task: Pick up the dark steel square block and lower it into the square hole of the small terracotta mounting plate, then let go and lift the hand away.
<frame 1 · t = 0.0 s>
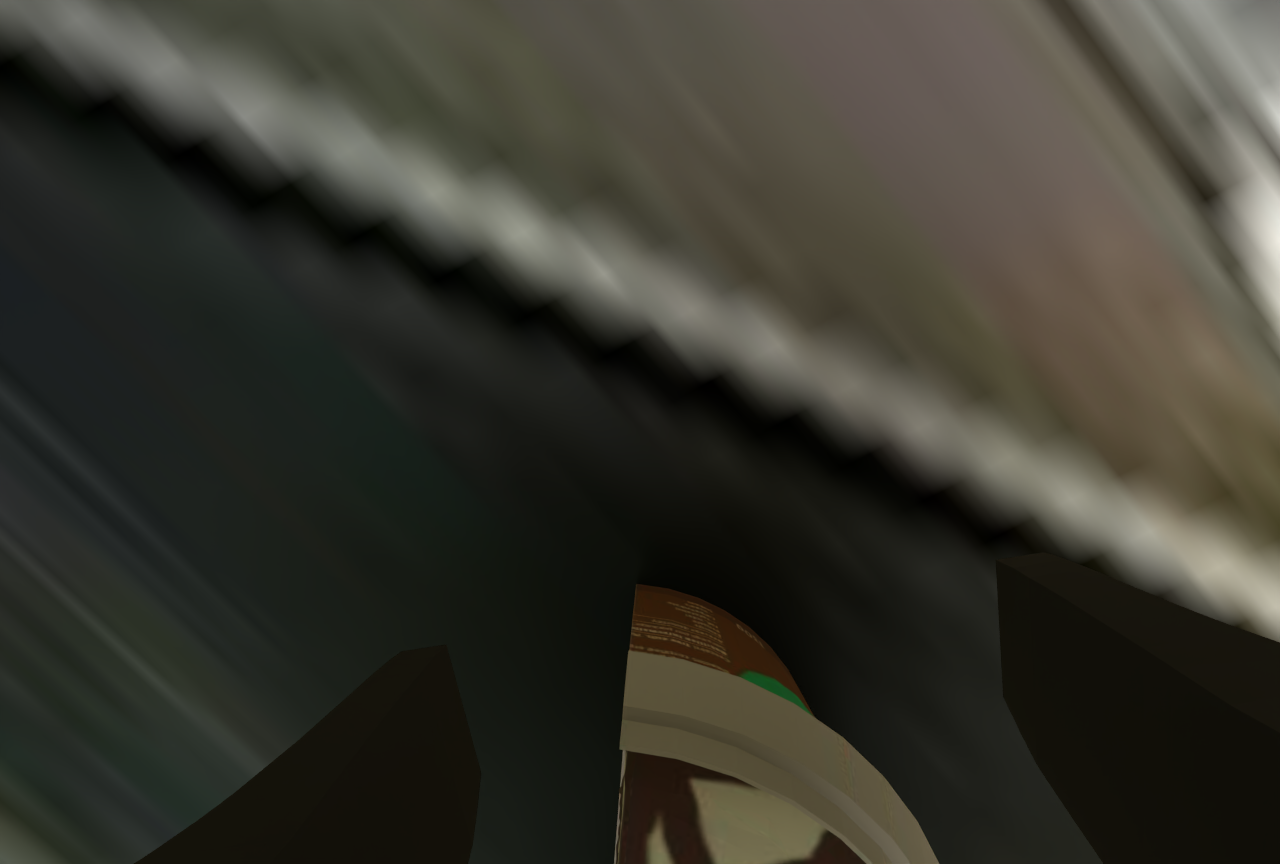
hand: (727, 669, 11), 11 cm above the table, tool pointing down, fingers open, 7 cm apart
food container: (739, 762, 23), on the table
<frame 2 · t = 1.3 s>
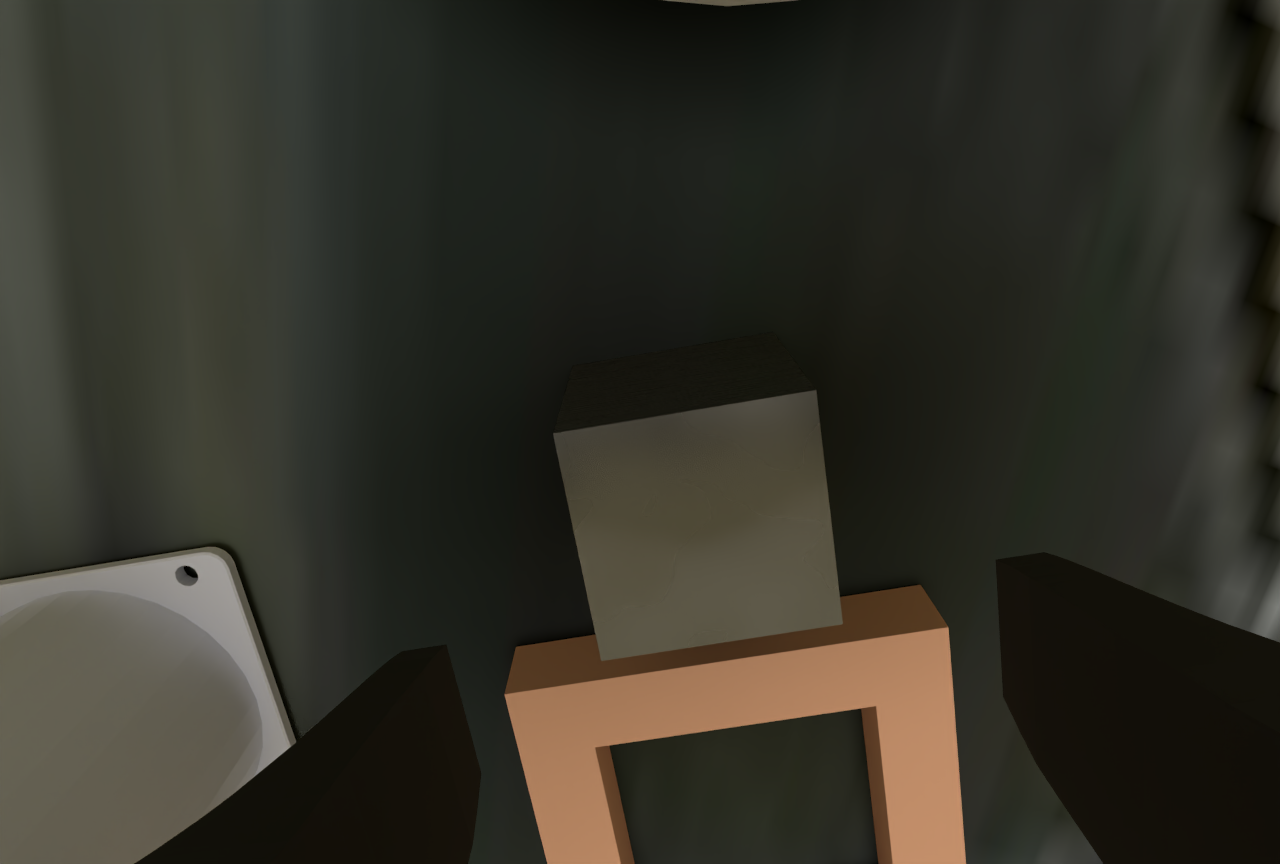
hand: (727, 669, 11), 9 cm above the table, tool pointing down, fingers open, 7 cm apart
steel block: (687, 442, 20), on the table
hole plate: (743, 783, 23), on the table
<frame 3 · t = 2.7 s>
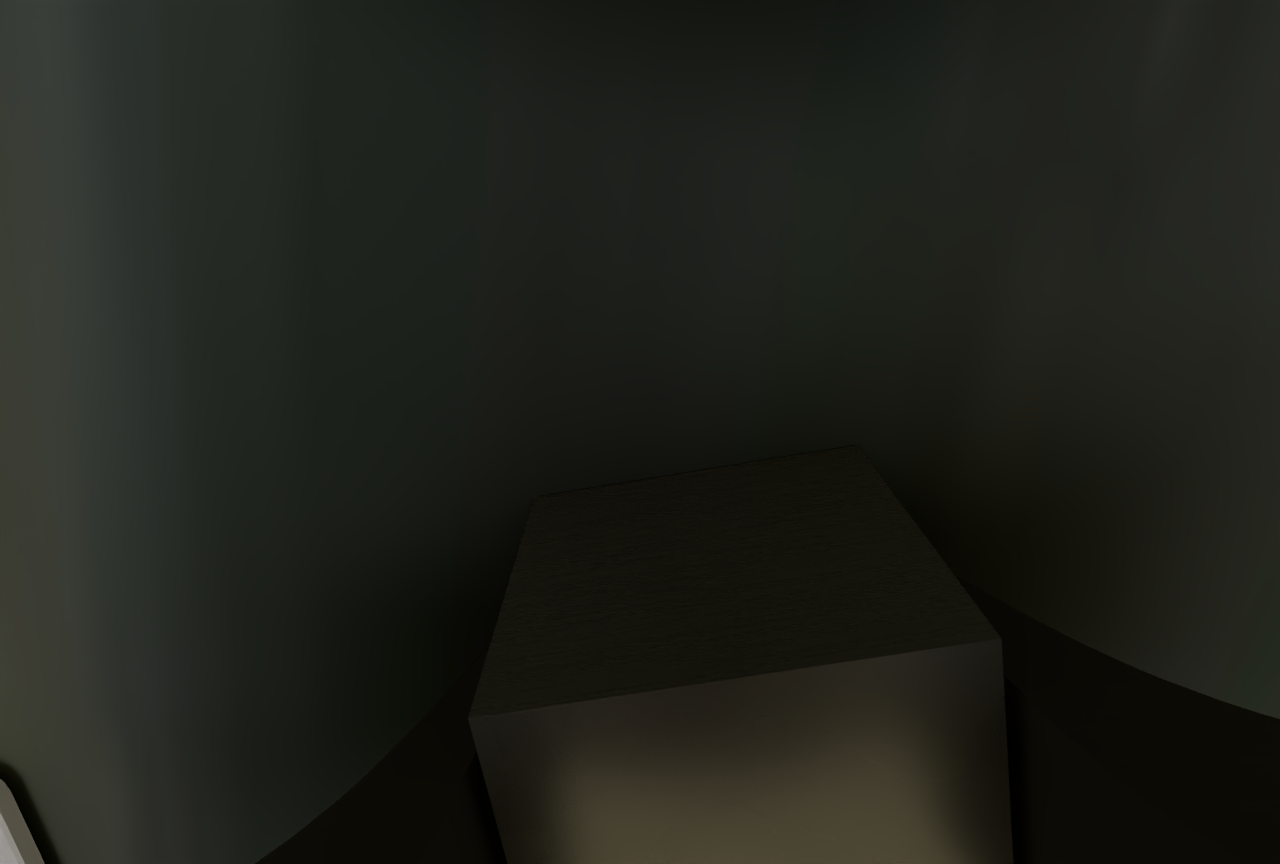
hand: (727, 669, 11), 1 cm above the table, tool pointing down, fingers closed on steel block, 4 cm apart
steel block: (717, 614, 13), on the table, touching gripper
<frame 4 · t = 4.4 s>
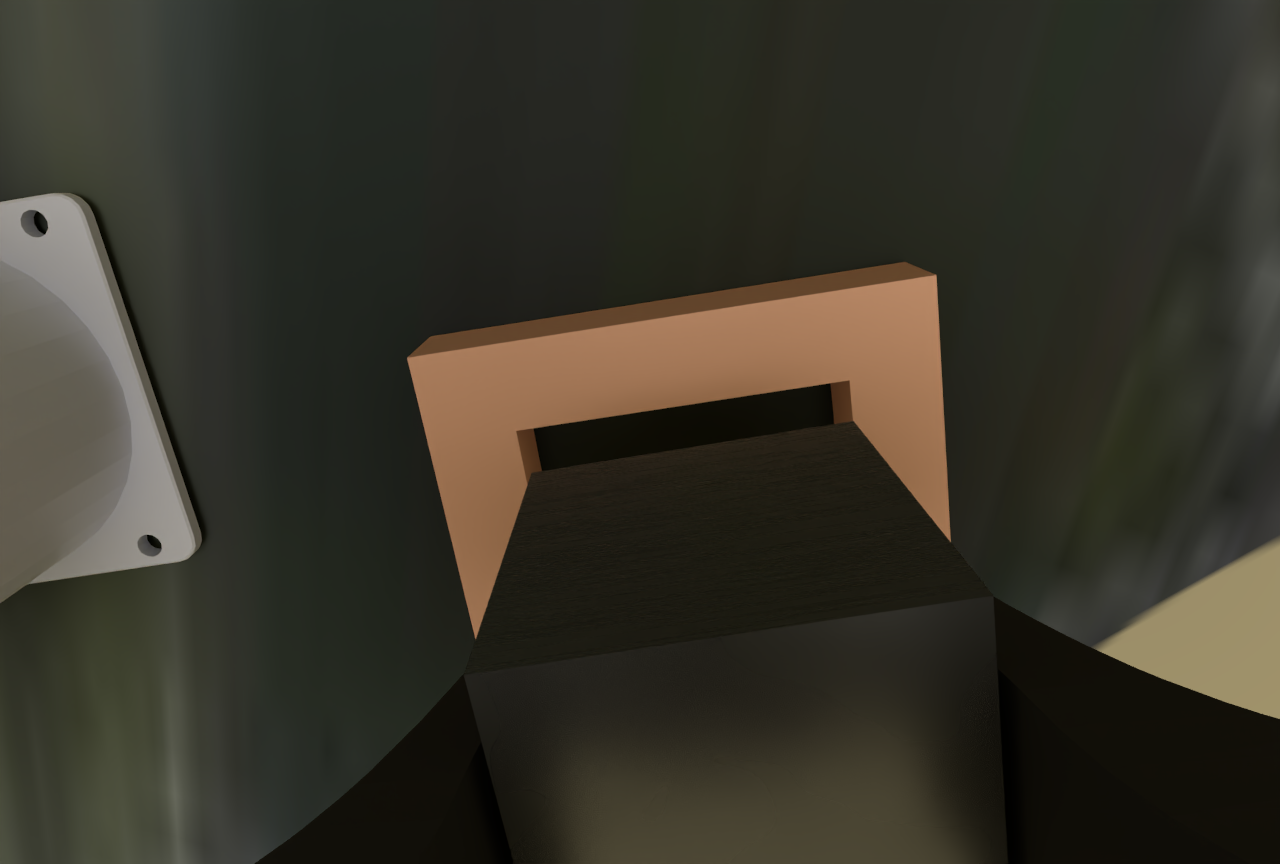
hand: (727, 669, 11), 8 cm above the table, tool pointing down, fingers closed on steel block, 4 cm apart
steel block: (714, 591, 13), point 7 cm above the table, touching gripper
hole plate: (697, 518, 20), on the table
when the fingers open (3 cm above the table, at t = 6.1 s): steel block drops 1 cm, resting in hole plate.
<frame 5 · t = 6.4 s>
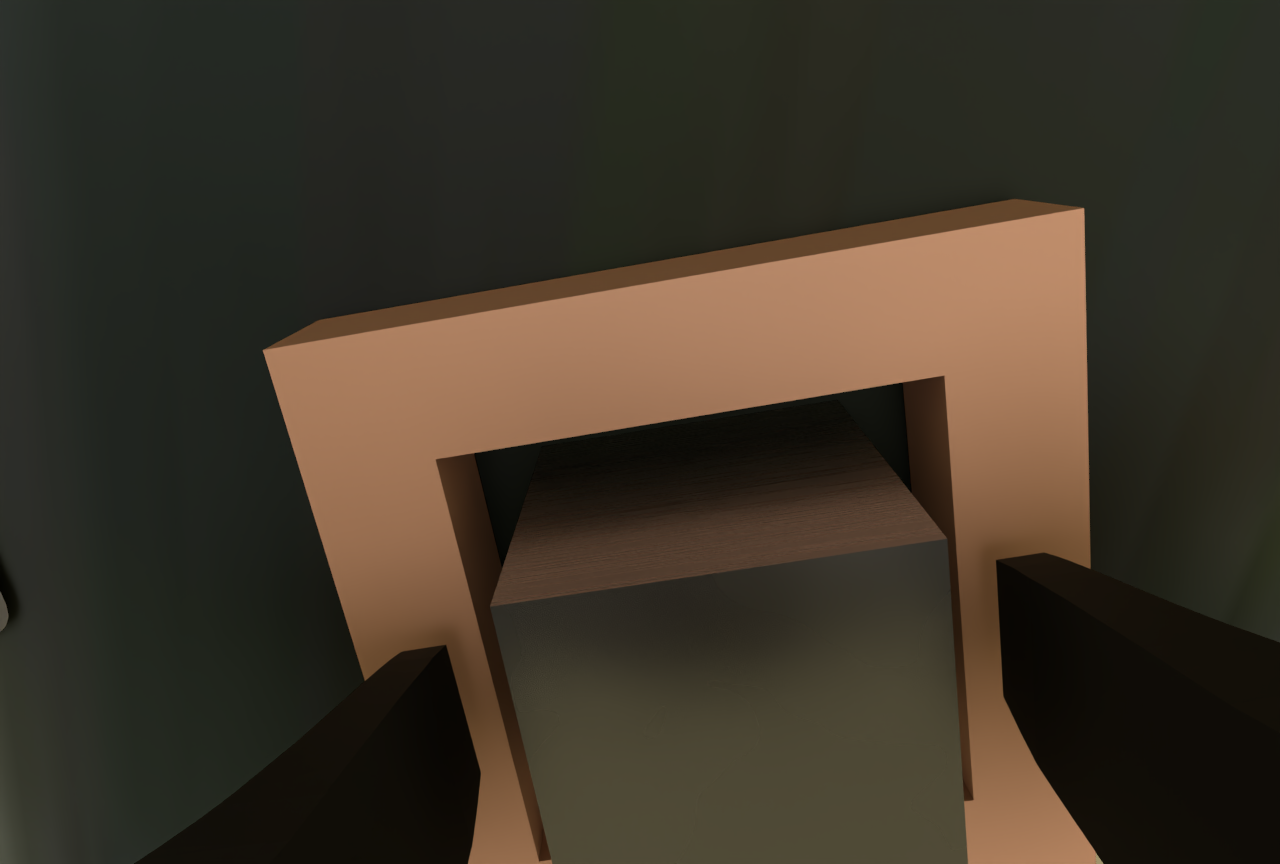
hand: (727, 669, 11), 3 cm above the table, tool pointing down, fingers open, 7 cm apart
steel block: (708, 555, 14), resting in hole plate
hole plate: (711, 574, 14), on the table
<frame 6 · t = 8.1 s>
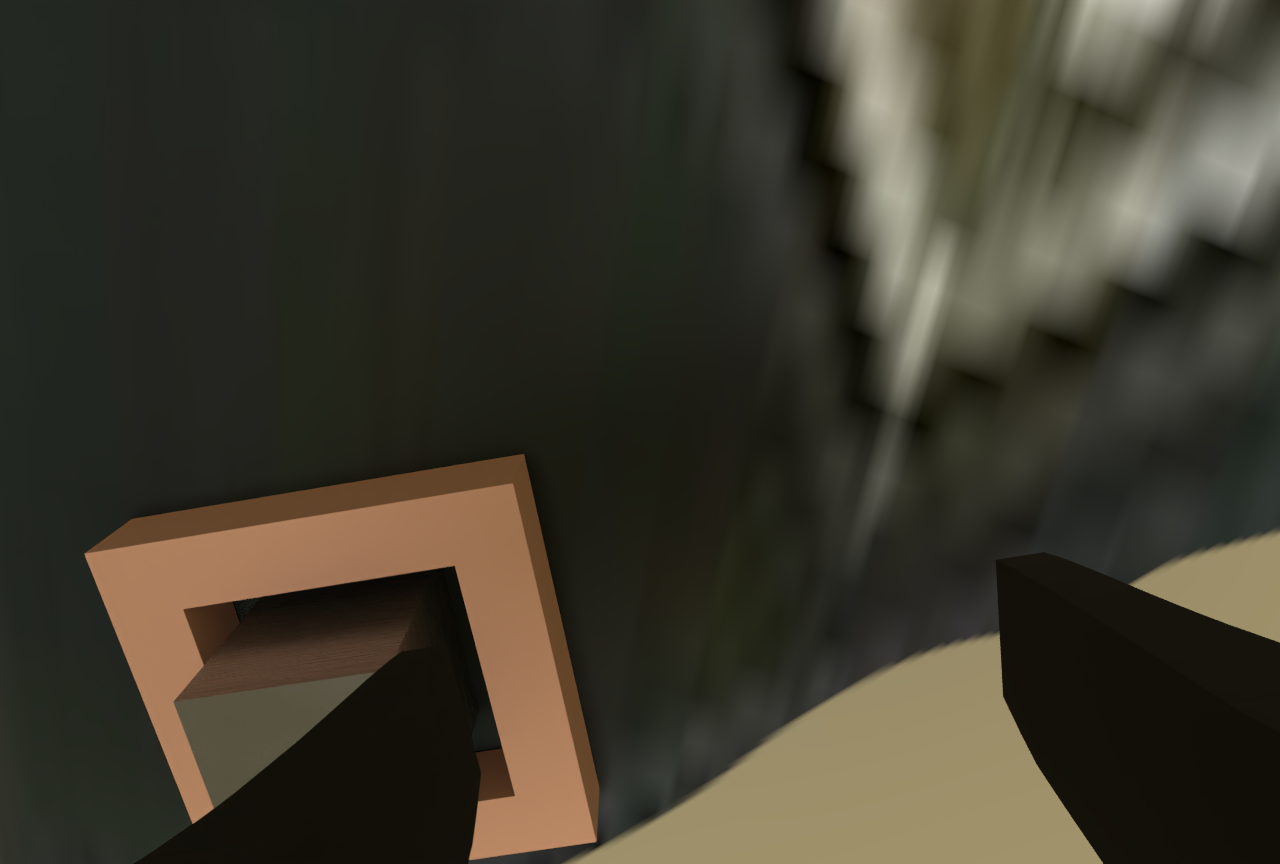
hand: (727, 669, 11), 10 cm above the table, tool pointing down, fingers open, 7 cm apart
steel block: (377, 649, 23), resting in hole plate
hole plate: (378, 660, 23), on the table
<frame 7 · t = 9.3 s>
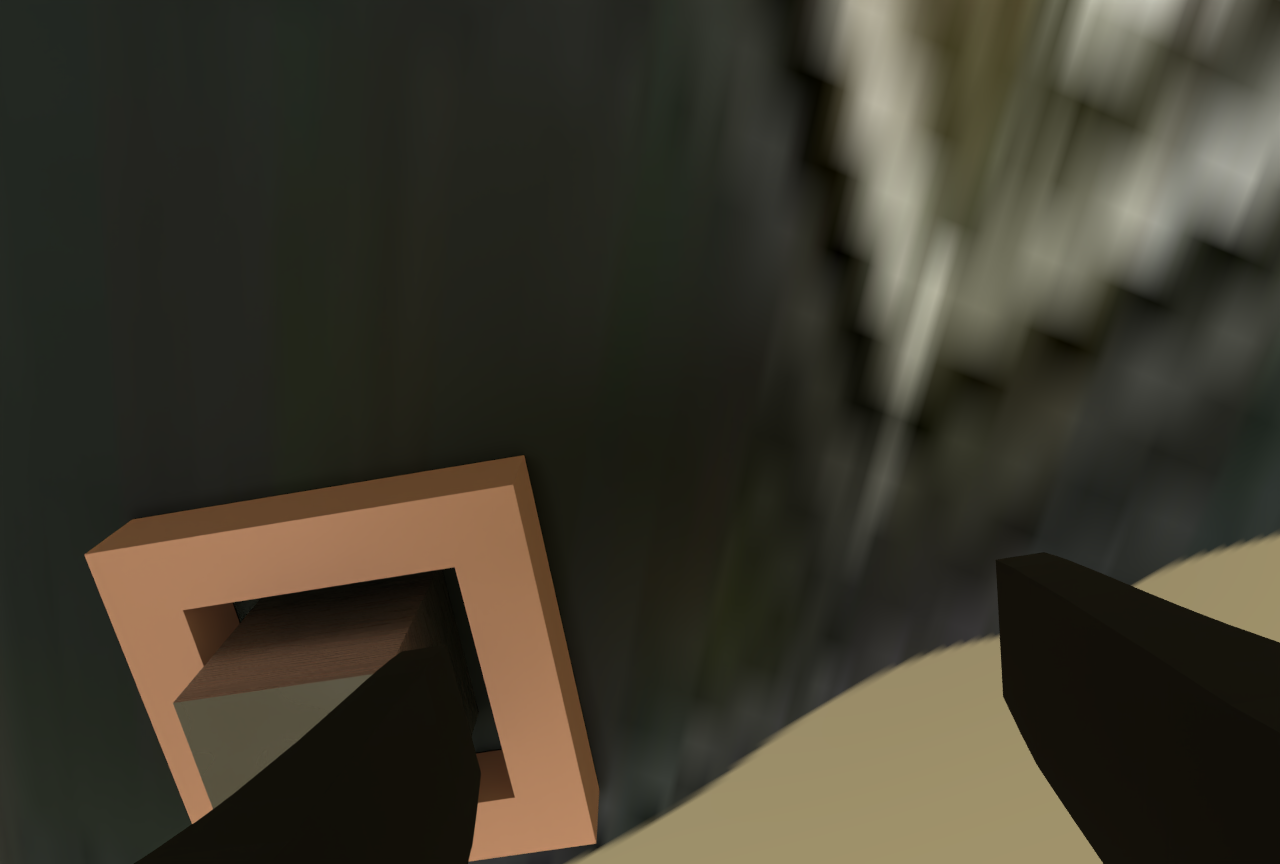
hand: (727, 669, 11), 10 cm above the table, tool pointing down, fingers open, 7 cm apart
steel block: (377, 650, 23), resting in hole plate
hole plate: (378, 661, 23), on the table
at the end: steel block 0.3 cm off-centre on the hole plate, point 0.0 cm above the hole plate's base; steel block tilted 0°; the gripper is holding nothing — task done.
